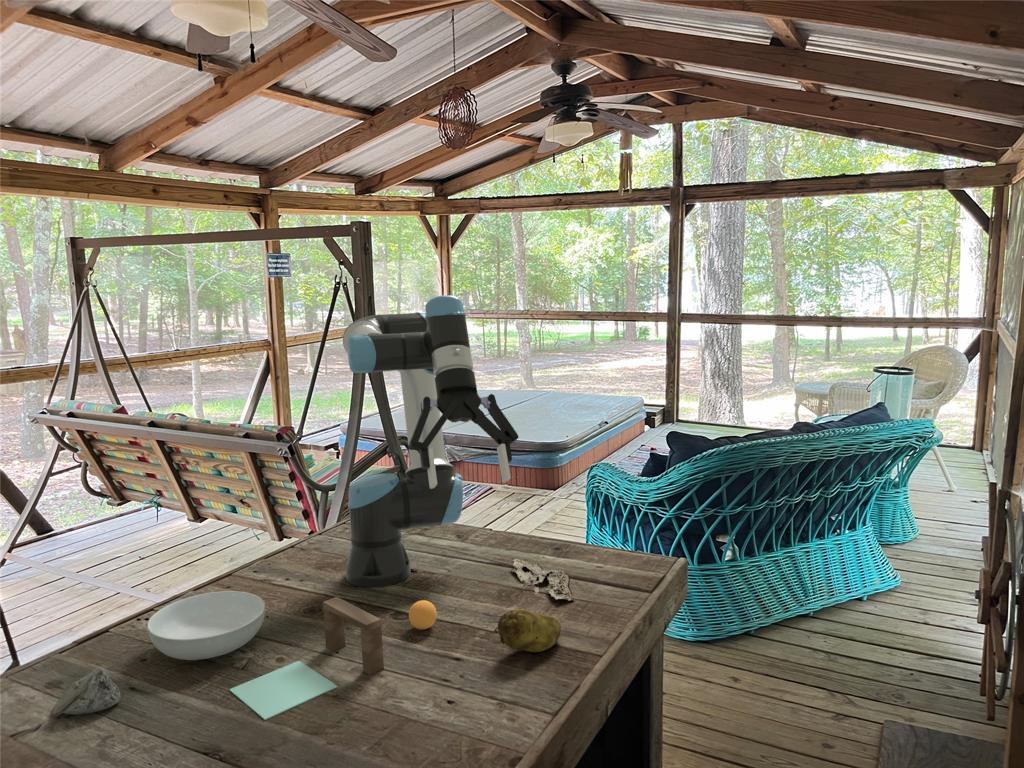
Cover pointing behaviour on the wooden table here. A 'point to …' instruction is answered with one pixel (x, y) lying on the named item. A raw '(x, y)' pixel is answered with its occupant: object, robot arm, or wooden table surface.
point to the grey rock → (89, 694)
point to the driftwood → (556, 579)
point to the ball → (422, 614)
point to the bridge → (368, 624)
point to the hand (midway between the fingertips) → (470, 483)
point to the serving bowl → (206, 624)
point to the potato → (528, 630)
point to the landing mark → (282, 689)
